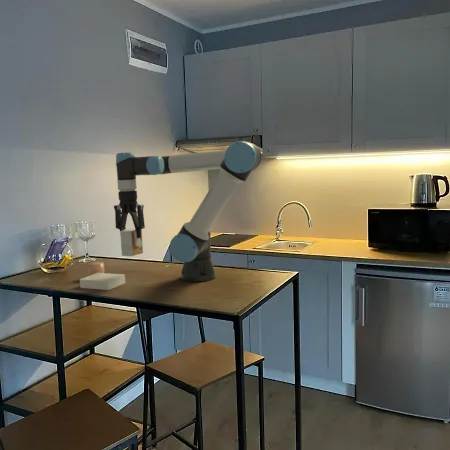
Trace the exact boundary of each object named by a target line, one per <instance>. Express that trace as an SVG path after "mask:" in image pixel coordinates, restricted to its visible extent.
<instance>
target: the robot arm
mask: <svg viewBox="0 0 450 450" xmlns="http://www.w3.org/2000/svg"><path fill="white" fill-rule="evenodd" d="M261 161H262V153H261V150H260V148H259V147H258V146H257V145H256V144H254V143H252V142H248V141H246V140H237V141H235V142H233V143H231V144H230V145H229V146H228V147H227V148H226V149H223V150H215V151H205V152H194V153H185V154H176V155H174V154H173V155H164V156H163V155H162V156H161V155H150V156H135V153H134V152H129V151H128V152H127V151H126V152H118V153H117V154H116V155H115V168H116V177H117V179H116V180H117V190H118V195H117V196H118V200H119V203H118V204H117V205H114V206H113V208H114V215H115V217H114V219H115V221H114V222H115V229H116V230H119V232H120V231H125V230H127V228H126V225H127V220H128V214H129V215H130V216H131V220H132V222H133V226H134V229H136V230H135V231H134V238H135V246H140V238H141V229H142V230H143V229H145V228H146V226H145V216H144V204H140V203H138V192H137V190H136V189H137V176H157V175H168V174H175V173H176V174H177V173H189V172H199V171H200V172H201V171H212V170H219V173H218V175H217V177H216V178H215V180H214V182H213V183H212V184H211V186H210V188H209V189H208V192H207V193H206V194H205V196H204V198H203V200H202V201H201V203H200V205H199V206H198V208H197V209H196V211H195V213H194V214H193V216H192V218H191V219H190V221H188V222H184V224H183V225H182V226H181V228H180V230H179V231H178V233H177V234H175V235H174V236H172V238H171V240H170V243H169V252H170V254H171V256H172V257H173V259H175V260H177V261H178V262H180V263H183V264H182V265H183V266H182V269H181V272H180V276H181V277H180V279H181V280H183V281H186V282H207V281H211V280H214V279H215V278H216V269H215V267H214V264H213V261H212V251H211V250H212V249H211V245H212V244H211V243H212V241H211V229H212V228H213V226H214V224H215V222H216V221H217V219H218V218H219V216H220V214H221V213H222V211H223V210H224V208H225V206H227V204H228V202H229V200H230V199H231V197H232V195H233V194H234V192H235V191H236V190H237V188H238V186H239V185H240V184H242V183H246V181H247V179H248V178H249V176H250V175H251V173H252V171H254V170H256V169H257V168H258V167H259V166H260V165H261ZM119 235H120V234H119ZM120 237H121V235H120Z"/></svg>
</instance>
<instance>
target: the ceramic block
mask: <svg viewBox="0 0 450 450" xmlns="http://www.w3.org/2000/svg"><path fill="white" fill-rule="evenodd" d="M125 283H126V274H121V273H107V272H106V273H96V274H93V275H90V276H89V275H87V276H85V277H82V278H80V279H79V285H80V288H81V289H89V290H91V289H92V290H102V291H109V290H112V289H115V288H117V287H119V286H121V285H124V284H125Z"/></svg>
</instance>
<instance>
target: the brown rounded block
mask: <svg viewBox="0 0 450 450" xmlns="http://www.w3.org/2000/svg"><path fill="white" fill-rule="evenodd" d="M87 272H88V275H87V276H90V275H93V274H96V273H105V262H104V261H92V262H89V263H87Z"/></svg>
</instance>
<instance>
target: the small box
mask: <svg viewBox="0 0 450 450" xmlns="http://www.w3.org/2000/svg"><path fill="white" fill-rule="evenodd" d="M124 230H125V231H120V230H119V235H121V236H120V249H121V256H122V257H135V256H137V255H140V254H143V253H144V249H143V248H144V247H143V231H142V230H143V229H141V238H140V246H135V238H134V231H135V230H136V229H135V228H130V229H129V228H128V229H124Z"/></svg>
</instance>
